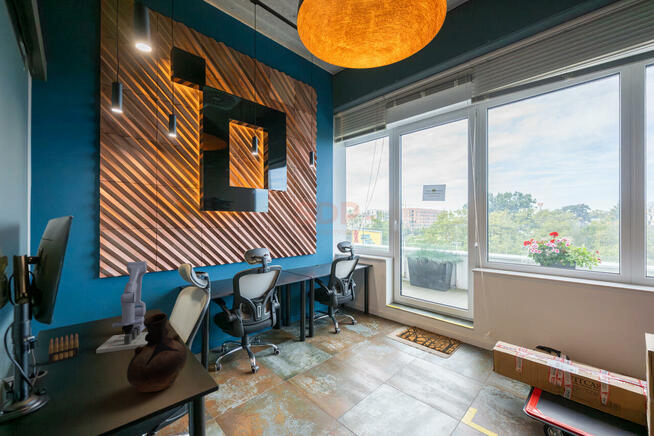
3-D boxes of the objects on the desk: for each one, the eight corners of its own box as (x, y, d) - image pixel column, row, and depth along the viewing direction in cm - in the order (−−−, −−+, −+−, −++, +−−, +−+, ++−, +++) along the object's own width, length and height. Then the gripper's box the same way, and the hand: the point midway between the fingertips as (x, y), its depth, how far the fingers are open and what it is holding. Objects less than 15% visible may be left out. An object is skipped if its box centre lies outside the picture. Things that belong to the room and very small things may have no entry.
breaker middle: (131, 337, 150) (132, 329, 150) (136, 337, 150) (136, 329, 151) (129, 339, 147) (129, 331, 147) (134, 339, 148) (134, 331, 148)
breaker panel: (113, 339, 153) (113, 335, 153) (155, 334, 160) (155, 330, 160) (96, 353, 136) (96, 349, 136) (144, 347, 142) (144, 343, 143)
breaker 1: (126, 342, 144) (126, 334, 144) (131, 341, 145) (131, 333, 145) (124, 344, 141) (124, 336, 141) (129, 343, 142) (129, 335, 142)
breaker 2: (135, 333, 155) (135, 326, 155) (140, 333, 156) (140, 325, 156) (133, 335, 152) (133, 328, 153) (138, 335, 153) (138, 327, 153)
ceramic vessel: (181, 369, 121) (182, 304, 122) (191, 386, 108) (192, 314, 108) (124, 388, 107) (126, 315, 108) (128, 411, 94) (129, 327, 95)
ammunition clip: (48, 364, 125) (48, 339, 126) (48, 363, 127) (48, 338, 127) (78, 356, 133) (79, 333, 133) (78, 355, 134) (79, 332, 134)
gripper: (109, 317, 142) (109, 342, 142) (140, 315, 146) (139, 339, 146) (115, 313, 149) (115, 337, 149) (145, 311, 153) (144, 334, 153)
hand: (127, 338), depth 148 cm, fingers closed
